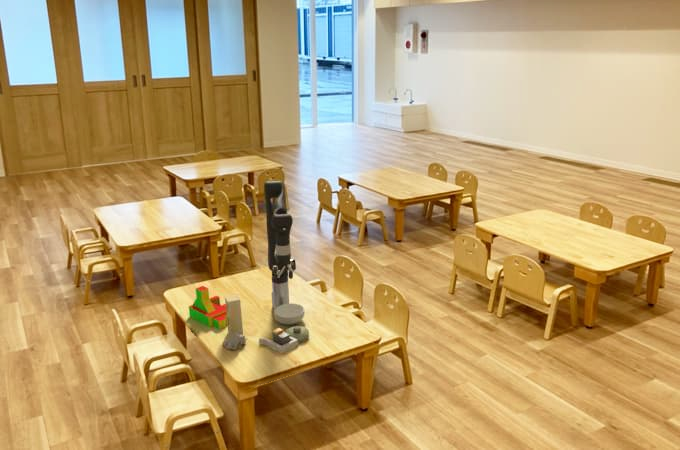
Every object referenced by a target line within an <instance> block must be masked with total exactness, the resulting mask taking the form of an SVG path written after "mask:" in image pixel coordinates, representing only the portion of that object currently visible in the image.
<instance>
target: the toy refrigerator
mask: <svg viewBox="0 0 680 450" xmlns="http://www.w3.org/2000/svg"><path fill="white" fill-rule="evenodd" d="M224 300H225V304H226V313H227V323H226V325H227V332H228V333H229V332H232V331H234V332H237V333H238V334H239V335H241V334H242V335H243V336H244V329H243V319H242V317H243V316H242V306H241V299H240V297H239V295H238V294H229V295H225V296H224Z"/></svg>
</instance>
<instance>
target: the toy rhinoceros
mask: <svg viewBox="0 0 680 450" xmlns="http://www.w3.org/2000/svg"><path fill="white" fill-rule="evenodd" d="M245 337H246V335H244V334H243V335H242V334H241V335H239V334H238V333H237V332H234V331H232V332H228V333H227V334H226V335H225V340H224V342H223V347H226V349H228V350H231V349H232V350H237V347H238V344H241V345H245V344H246V343H247V339H248V338H247V337H246V338H245Z"/></svg>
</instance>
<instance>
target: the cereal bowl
mask: <svg viewBox="0 0 680 450" xmlns="http://www.w3.org/2000/svg"><path fill="white" fill-rule="evenodd" d="M273 315H274V319H275V320H276V321H277V322H278V323H280V324H282V325H287V326H288V325H290V326H291V325H294V324H297V323H299V322H301V321H302V320H303V319H304V318H305V308H304V306H303V305H301V304H298V303H291V302H289V304H283V305H280V306H278V307H276V308H275V310H274V309H273Z"/></svg>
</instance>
